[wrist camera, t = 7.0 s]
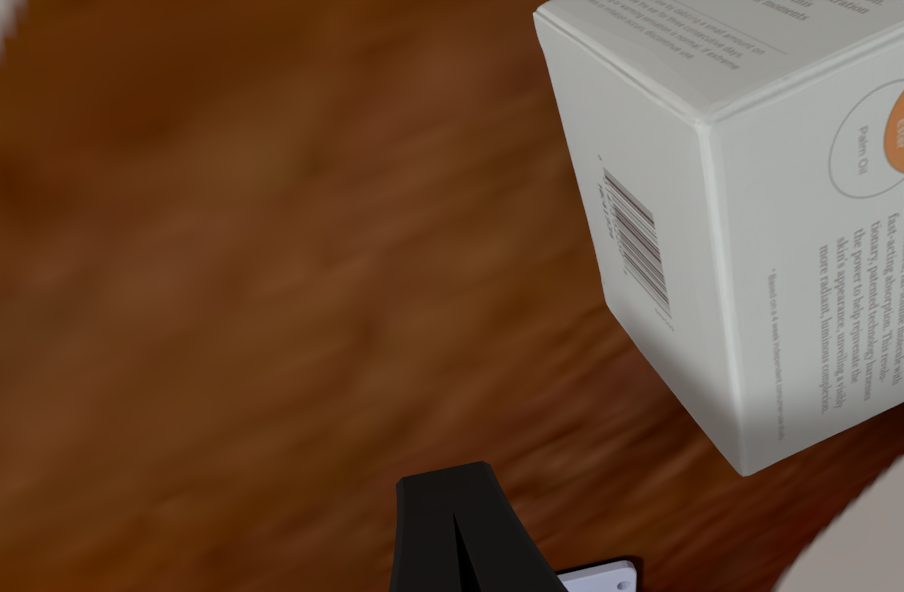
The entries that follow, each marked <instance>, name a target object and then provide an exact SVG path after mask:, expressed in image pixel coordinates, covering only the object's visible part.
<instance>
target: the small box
mask: <svg viewBox="0 0 904 592" xmlns="http://www.w3.org/2000/svg"><path fill="white" fill-rule="evenodd" d="M533 17H534V23H535V27H536V32H537V35H538V38H539V42H540V44H541V47H542V49H543V52H544V55H545V59H546V62H547V66H548V70H549V74H550V78H551V81H552V85H553V89H554V93H555V97H556V101H557V105H558V109H559V113H560V117H561V120H562V124H563V128H564V132H565V136H566V140H567V144H568V147H569V151H570V155H571V159H572V163H573V167H574V170H575V174H576V178H577V182H578V186H579V189H580V193H581V197H582V201H583V205H584V208H585V212H586V215H587V219H588V223H589V227H590V232H591V236H592V240H593V244H594V248H595V252H596V257H597V261H598V265H599V270H600V274H601V279H602V286H603V291H604V296H605V301H606V303H607V306H608V307H609V309H610V310H611V312H612V313H613V314H614V316H615V317H616V318H617V320H618V321H619V323H620V324H621V325H622V327H623V328H624V329H625V330H626V332H627V333H628V335H629V336H630V337H631V339H632V340H633V342H634V343H635V344H636V346H637V347H638V349H639V350H640V351H641V353H642V354H643V355H644V356H645V358H646V359H647V360H648V362H649V363H650V364H651V365H652V366H653V368H654V369H655V370H656V371H657V373H658V374H659V375H660V376H661V378H662V379H663V380H664V382H665V383H666V384H667V385H668V387H669V388H670V389H671V391H672V392H673V393H674V394H675V396H676V397H677V398H678V399H679V401H680V402H681V403H682V404H683V406H684V407H685V408H686V410H687V411H688V412H689V413H690V415H691V416H692V417H693V418H694V420H695V421H696V422H697V423H698V425H699V426H700V427H701V428H702V430H703V431H704V432H705V433H706V435H707V436H708V437H709V438H710V440H711V441H712V442H713V443H714V445H715V446H716V447H717V448H718V450H719V451H720V452H721V453H722V454H723V456H724V457H725V458H726V459H727V460H728V462H729V463H730V464H731V465H732V466H733V468H734V469H735V470H736V471H737V472H738V473H739V474H740V475H742V476H749V475H751V474H753V473H755V472H757V471H760V470H762V469H764V468H766V467H768V466H770V465H772V464H774V463H776V462H778V461H780V460H782V459H784V458H786V457H788V456H790V455H792V454H795V453H797V452H799V451H801V450H803V449H805V448H807V447H809V446H811V445H814V444H816V443H818V442H820V441H822V440H824V439H826V438H828V437H831V436H833V435H835V434H837V433H839V432H842V431H844V430H846V429H848V428H850V427H853V426H855V425H857V424H859V423H861V422H863V421H865V420H867V419H869V418H871V417H873V416H875V415H877V414H879V413H881V412H883V411H886V410H888V409H890V408H892V407H894V406H896V405H898V404H900V403H902V402H904V0H550V1H548V2H546V3H544V4H543V5H541V6H540V7H538V9H537V11H536V12H534V13H533Z"/></svg>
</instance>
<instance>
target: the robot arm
mask: <svg viewBox="0 0 904 592" xmlns="http://www.w3.org/2000/svg"><path fill="white" fill-rule="evenodd" d="M396 491H397V529H396V542H395V551H394V561H393V569H392V575H391V582H390V588H389V592H636V577H637V573H636V570H635V567H634V565H633V563H631V562H630V561H625V560H624V561H618V562H613V563H609V564H605V565H600V566H596V567H591V568H587V569H583V570H578V571H574V572H569V573H565V574H561V575H556V573H555V572H554V571H553V569H552V568H551V566H550V565H549V564H548V562H547V561H546V559H545V558H544V557H543V555H542V554H541V552H540V551H539V550H538V548H537V547H536V545H535V544H534V542H533V541H532V539H531V538H530V536H529V535H528V533H527V531H526V530H525V528H524V527H523V525H522V523H521V522H520V520H519V519H518V517H517V515H516V514H515V512H514V510H513V509H512V507H511V505H510V503H509V502H508V500H507V498H506V496H505V494H504V493H503V491H502V489H501V487H500V485H499V483H498V481H497V479H496V477H495V475H494V472H493V470H492V468H491V465H490V464H488V463H486V462H484V461H479V462H474V463H470V464H465V465H460V466H455V467H450V468H446V469H441V470H436V471H431V472H426V473H421V474H417V475H412V476H407V477H402V478H401V479H400V481H399V482H398V483H397V484H396Z"/></svg>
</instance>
